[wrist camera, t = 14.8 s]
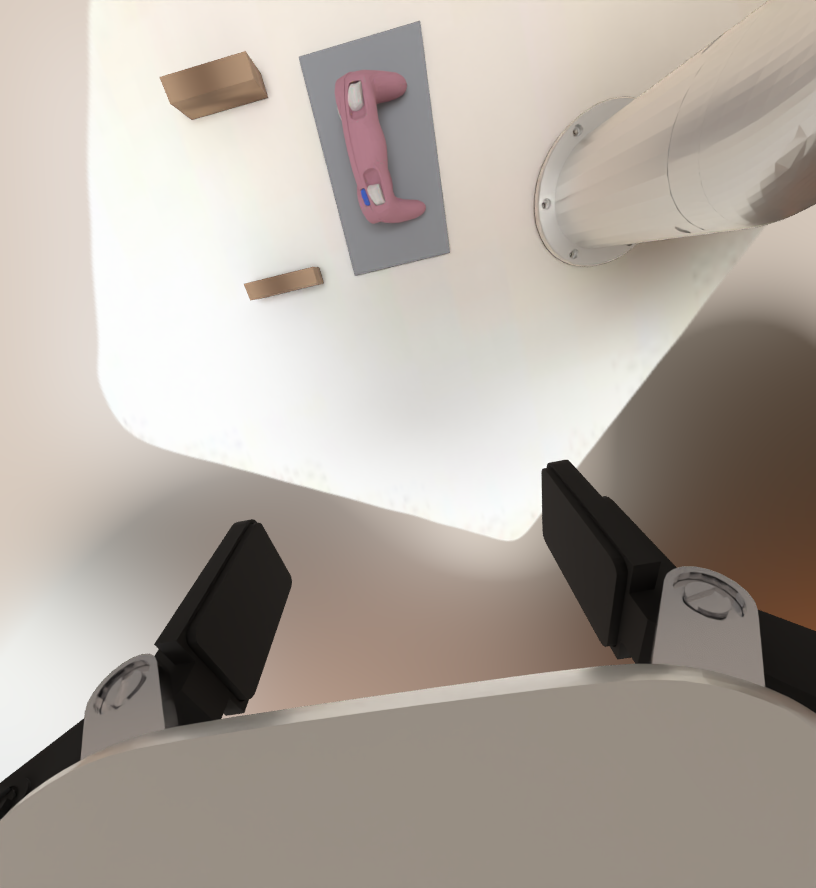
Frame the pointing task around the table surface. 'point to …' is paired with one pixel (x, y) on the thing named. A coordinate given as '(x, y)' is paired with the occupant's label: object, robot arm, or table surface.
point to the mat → (406, 147)
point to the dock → (217, 92)
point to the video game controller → (372, 143)
